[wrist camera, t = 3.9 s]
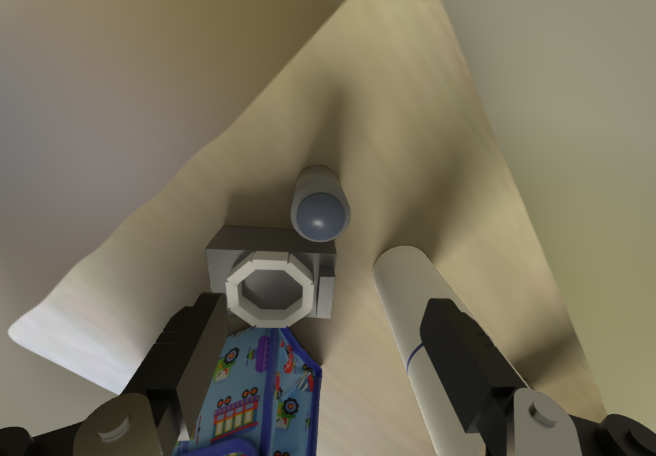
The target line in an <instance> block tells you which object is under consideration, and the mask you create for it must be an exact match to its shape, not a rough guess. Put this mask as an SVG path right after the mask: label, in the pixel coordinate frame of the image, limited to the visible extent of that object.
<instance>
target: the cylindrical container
mask: <svg viewBox="0 0 656 456" xmlns="http://www.w3.org/2000/svg"><path fill="white" fill-rule="evenodd" d="M372 277H373V280H374V283H375V286H376V289H377V291H378V294H379V297H380V300H381V303H382V305H383V308H384V311H385V314H386V316H387V319H388V322H389V325H390V327H391V330H392V333H393V336H394V338H395V341H396V344H397V346H398V349H399V352H400V355H401V357H402V360H403V363H404V366H405V368H406V371H407V374H408V376H409V379H410V382H411V385H412V388H413V390H414V393H415V396H416V399H417V401H418V404H419V407H420V410H421V412H422V415H423V418H424V421H425V423H426V426H427V429H428V432H429V434H430V437H431V440H432V443H433V445H434V448H435V451H436V454H437V456H480V452H481V445H482V443H483V439H482V437H481V435H480V433H466V434H465V432H464V429H463V427H462V425H461V423H460V421H459V419H458V417H457V415H456V413H455V411H454V408H453V406H452V404H451V402H450V400H449V398H448V396H447V394H446V392H445V390H444V387H443V385H442V383H441V381H440V379H439V377H438V375H437V373H436V371H435V369H434V367H433V364H432V362H431V360H430V358H429V356H428V354H427V352H426V350H425V348H424V346H423V343H422V341H421V338H420V324H421V321H422V318H423V315H424V312H425V309H426V306H427V303H428V301H429V299H430V298H449V299H451V300H453V302H454V303H455V304H456V306H457V307H458V308H459V310H460V311H461V312H465V313H466V314H467V315H469V316H470V317H471V318H472V319H474V320H475V321H476V322H477V323H478V324H479V322H478V321H477V320H476V318H475V317H474V316H473V315H472V313H471V312H470V311H469V310H468V308H467V307H466V306H465V304H464V303H463V302H462V301H461V299H460V298H459V297H458V296H457V294H456V293H455V292H454V290H453V289H452V288H451V287H450V285H449V284H448V283H447V282H446V280H445V279H444V278H443V277H442V275H441V274H440V273H439V271H438V270H437V269H436V268H435V266H434V265H433V264H432V263H431V261H430V260H429V259H428V257H427V256H426V255H425V254H424V252H422V251H421V250H420V249H418V248H416V247H412V246H398V247H394V248H391V249H389V250H387V251H386V252H384V253H383V254H382V255H381V256H380V257H379V258H378V259H377V261H376V262H375V264H374V266H373V270H372ZM479 325H480V324H479ZM480 327H481V328H482V329H483V327H482V326H481V325H480ZM483 330H484V329H483ZM484 332H485V333H486V336H488V337H489V338H490V339H491V337H490V336H489V335H488V334H487V332H486V331H485V330H484ZM491 341H492V342H493V343H494V341H493V340H492V339H491ZM494 346H496V347H497V348H498V346H497V345H496V344H495V343H494ZM498 350H499V351H500V352H501V354H502V355H503V356H504V357H505V355H504V354H503V353H502V351H501V350H500V349H499V348H498ZM505 359H506V360H507V361H508V363H509V364H510V365H511V366H512V364H511V363H510V362H509V360H508V359H507V358H506V357H505ZM512 368H513V369H514V370H515V372H516V373H517V374H518V375H519V377H520V378H521V379H522V381H523V382H524V383H525V384H526V386H527V387H528V388H530V387H529V386H528V385H527V383H526V382H525V381H524V380H523V378H522V377H521V376H520V374H519V373H518V372H517V371H516V369H515V368H514V367H513V366H512ZM530 389H531V388H530Z"/></svg>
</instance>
